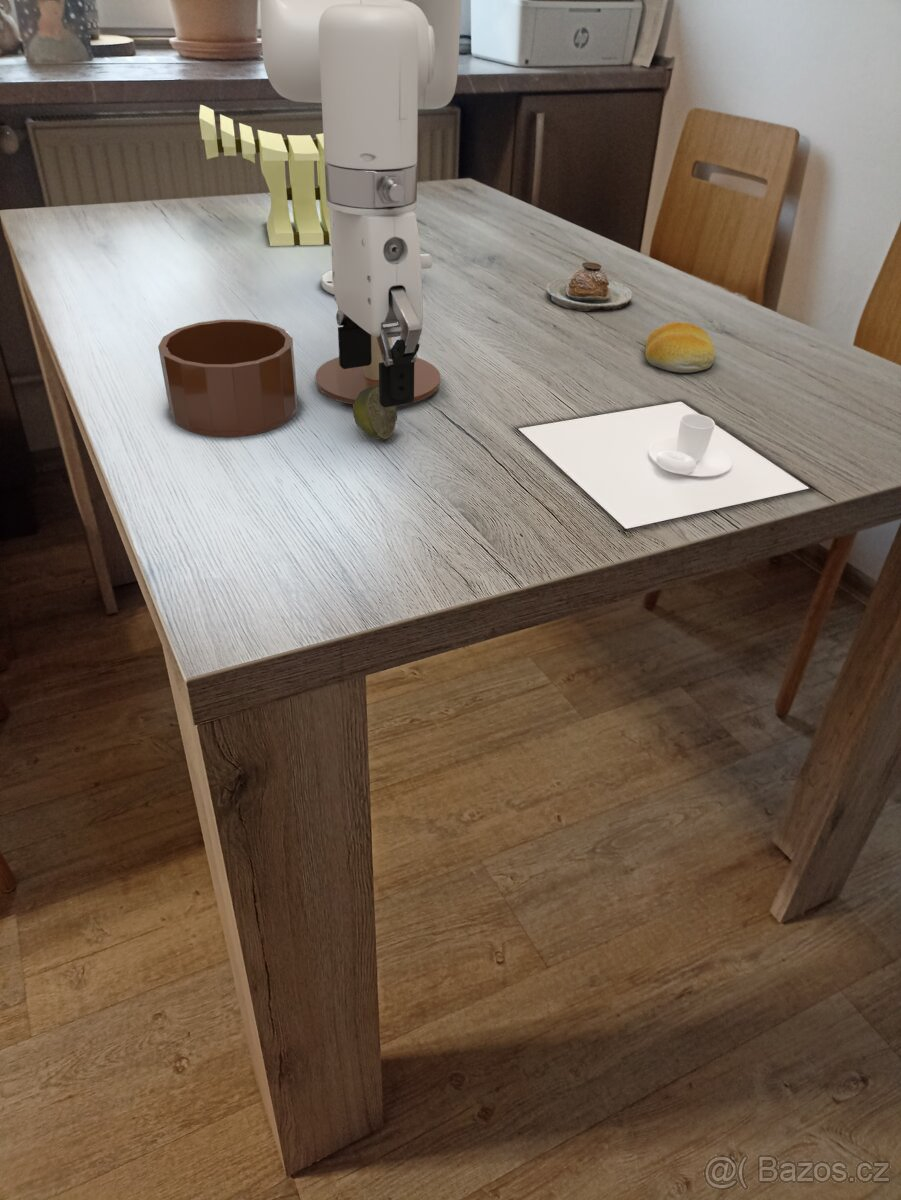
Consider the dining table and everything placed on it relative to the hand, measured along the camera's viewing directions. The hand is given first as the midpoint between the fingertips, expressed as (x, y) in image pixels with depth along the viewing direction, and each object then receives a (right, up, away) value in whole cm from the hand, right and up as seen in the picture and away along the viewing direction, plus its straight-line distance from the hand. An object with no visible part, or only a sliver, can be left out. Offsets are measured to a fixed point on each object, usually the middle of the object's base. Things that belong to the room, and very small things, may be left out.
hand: (375, 384), depth 80 cm
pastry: (+27, +22, +39) cm, 52 cm away
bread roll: (+34, +8, +22) cm, 42 cm away
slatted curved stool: (-17, +41, +62) cm, 76 cm away
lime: (0, -4, +4) cm, 6 cm away
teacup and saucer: (+27, -7, +2) cm, 28 cm away
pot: (-15, -1, +7) cm, 17 cm away
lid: (-1, +4, +13) cm, 13 cm away
